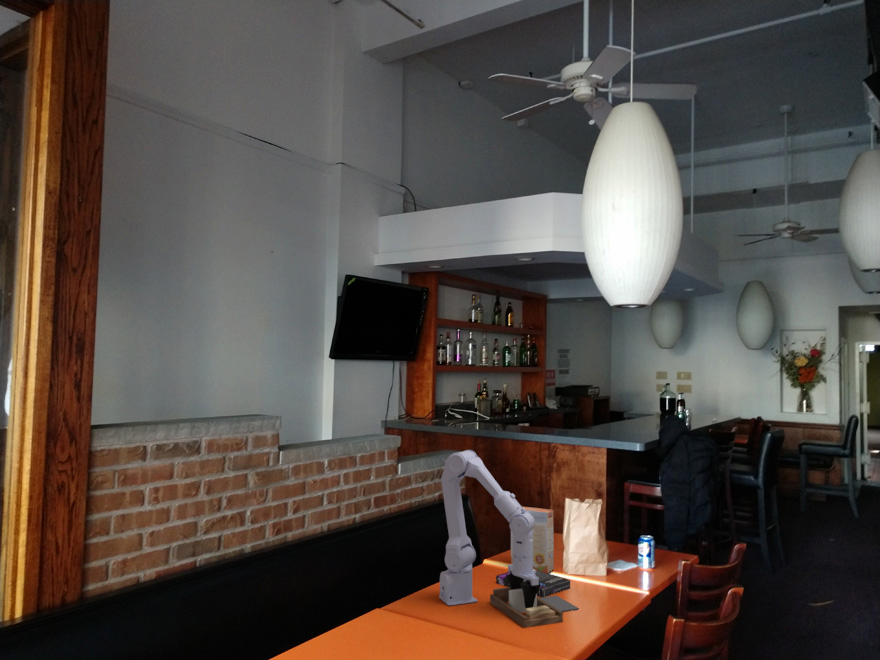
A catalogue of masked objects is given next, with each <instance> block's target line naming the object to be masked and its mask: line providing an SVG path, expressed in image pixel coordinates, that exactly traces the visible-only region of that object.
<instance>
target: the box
mask: <svg viewBox="0 0 880 660" xmlns="http://www.w3.org/2000/svg"><path fill="white" fill-rule="evenodd" d="M507 574H510V572H504V573H500V574H497V575H496V576H495V581H496V584H497V585H500V586H503V585H504V587H507V586H508V587H510V585H509V582H508V580H507V578H506V575H507ZM535 575H536V576H537V577H538V578H539V583H540V584H541V587H540V588H539V590H538V592H537V597H538V596H539V597H538V598H541V597H546V596H547V597H549V595H550V596H552V595H551V594H553V595H555V594H554V593H556V594H558V593H561V592H564V591H567V590H570V589H571V579H569V578H566V577H562V576H558V575H555V574H551V573H545V572H541V571H538V570H536V573H535ZM525 582H526V583H527V581H526V580H525V579H524V581H523V583H525ZM563 590H564V591H563ZM560 591H561V592H560ZM557 592H558V593H557Z"/></svg>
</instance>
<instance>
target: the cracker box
mask: <svg viewBox="0 0 880 660" xmlns="http://www.w3.org/2000/svg"><path fill="white" fill-rule="evenodd" d="M521 507H522V508H523V507H524V508H525V509H526V510H525V511H529V512H531V513H532V515H533V516H534V518H535V526H534V528H533V529H532V530H531V531H532V539H533V569H534V570H538V571H541V572H545V573H548V574H550V573H551V572H550V571H552V570H553V569H554V570H555V560H554V559H555V553H554V551H555V550H554V548H555V546H554V545H555V544H554V543H555V542H554V510H553V509H548V508H540V507H529V506H523V505H521ZM529 532H530V531H529ZM511 564H513V533H512V531H511V530H510V565H511ZM554 570H553V571H554ZM553 571H552V572H553ZM549 572H550V573H549Z"/></svg>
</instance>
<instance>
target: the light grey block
mask: <svg viewBox="0 0 880 660" xmlns="http://www.w3.org/2000/svg"><path fill="white" fill-rule="evenodd" d="M537 597H538V596H537V594H536V597H535V601H534V605H533V607H537ZM508 605H510V606H511V607H513V608H514V609H515V610H517V611H518V612H520V613H521V614H523V613H525V609H526V608H525V603H524V595H523V590H522V589H515V590H509V602H508Z"/></svg>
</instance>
